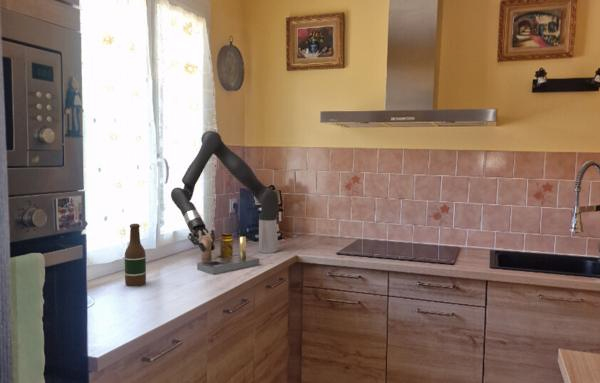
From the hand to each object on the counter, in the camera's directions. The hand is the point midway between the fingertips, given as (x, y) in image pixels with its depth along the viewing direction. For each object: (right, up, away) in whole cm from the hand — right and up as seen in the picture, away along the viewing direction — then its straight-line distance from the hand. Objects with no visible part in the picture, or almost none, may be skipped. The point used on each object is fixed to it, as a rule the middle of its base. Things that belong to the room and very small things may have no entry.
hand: (209, 250), depth 220 cm
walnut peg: (-1, -5, +2) cm, 6 cm away
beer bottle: (-22, -10, -34) cm, 42 cm away
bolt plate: (+10, -7, -4) cm, 13 cm away
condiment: (+5, -6, +17) cm, 18 cm away
